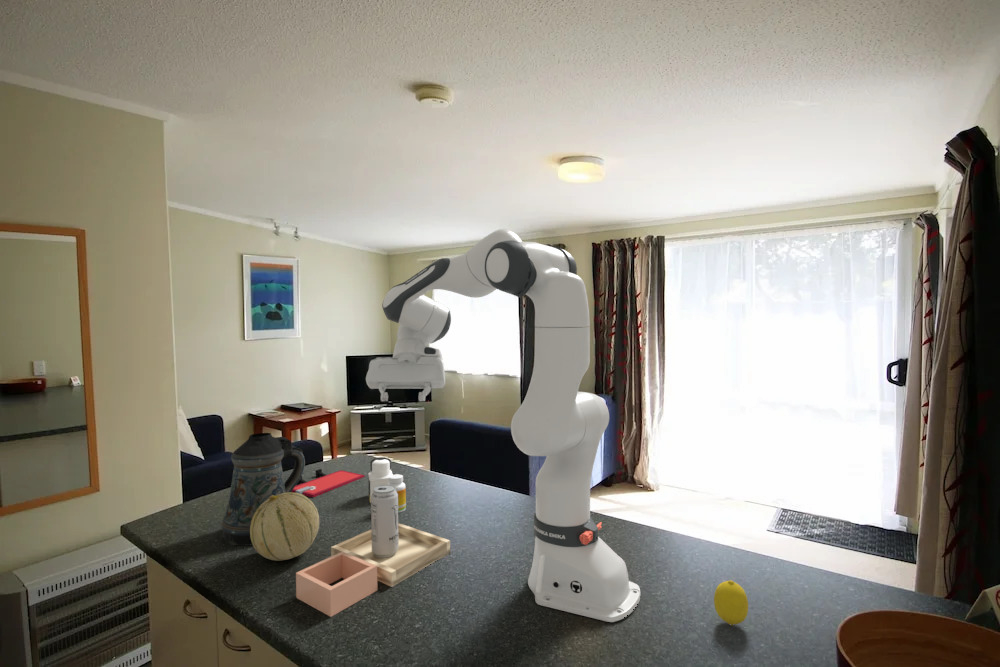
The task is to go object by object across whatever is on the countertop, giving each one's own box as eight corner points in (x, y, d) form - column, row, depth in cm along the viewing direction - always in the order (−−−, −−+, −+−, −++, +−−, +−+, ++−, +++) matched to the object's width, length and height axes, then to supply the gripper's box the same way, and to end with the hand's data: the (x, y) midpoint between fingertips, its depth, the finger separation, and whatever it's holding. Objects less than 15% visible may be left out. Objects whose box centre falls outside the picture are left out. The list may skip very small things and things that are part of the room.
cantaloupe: (333, 552, 118) (332, 489, 118) (274, 579, 106) (273, 509, 106) (295, 537, 127) (294, 478, 126) (237, 561, 114) (235, 495, 114)
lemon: (738, 615, 93) (738, 572, 92) (754, 634, 87) (754, 588, 87) (708, 616, 92) (708, 573, 92) (722, 635, 87) (723, 589, 87)
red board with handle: (258, 498, 154) (292, 507, 147) (258, 489, 154) (292, 497, 147) (333, 472, 181) (364, 479, 174) (333, 464, 181) (364, 471, 174)
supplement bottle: (408, 506, 146) (407, 473, 146) (402, 514, 141) (402, 479, 141) (390, 506, 147) (389, 473, 147) (384, 513, 142) (383, 479, 141)
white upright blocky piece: (368, 495, 156) (367, 456, 155) (392, 492, 158) (391, 454, 158) (369, 503, 149) (369, 463, 149) (394, 500, 151) (393, 461, 151)
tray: (450, 553, 118) (450, 540, 117) (391, 587, 103) (391, 572, 103) (391, 532, 129) (391, 520, 129) (331, 560, 115) (331, 546, 114)
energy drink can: (396, 558, 113) (395, 492, 112) (369, 559, 112) (368, 493, 112) (400, 546, 119) (399, 483, 118) (374, 547, 118) (373, 484, 118)
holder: (377, 590, 102) (377, 565, 102) (330, 616, 93) (330, 590, 93) (343, 574, 108) (342, 551, 108) (296, 597, 99) (295, 572, 99)
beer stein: (205, 540, 125) (203, 440, 124) (265, 511, 143) (263, 424, 142) (258, 550, 120) (256, 445, 119) (313, 518, 138) (312, 428, 137)
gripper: (368, 350, 133) (358, 392, 124) (446, 349, 133) (441, 392, 123) (373, 365, 138) (363, 407, 128) (448, 365, 137) (444, 407, 128)
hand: (402, 400), depth 126 cm, fingers open, 8 cm apart
